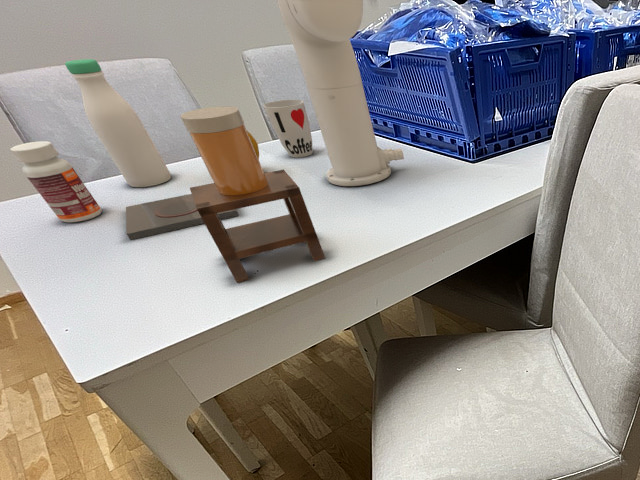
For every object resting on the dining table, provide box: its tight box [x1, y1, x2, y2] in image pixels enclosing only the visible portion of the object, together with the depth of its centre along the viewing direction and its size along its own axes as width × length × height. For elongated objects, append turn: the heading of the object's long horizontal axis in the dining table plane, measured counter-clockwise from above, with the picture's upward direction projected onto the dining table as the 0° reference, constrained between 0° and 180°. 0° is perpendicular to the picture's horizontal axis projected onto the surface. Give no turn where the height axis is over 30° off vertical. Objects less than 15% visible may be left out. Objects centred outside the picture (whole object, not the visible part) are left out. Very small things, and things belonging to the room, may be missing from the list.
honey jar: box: [180, 106, 268, 196], centre depth 56 cm, size 6×6×8 cm
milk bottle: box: [64, 58, 172, 188], centre depth 84 cm, size 8×8×20 cm
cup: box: [262, 99, 314, 158], centre depth 100 cm, size 8×8×10 cm
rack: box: [189, 168, 326, 283], centre depth 62 cm, size 12×9×10 cm
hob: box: [125, 193, 239, 241], centre depth 78 cm, size 16×14×1 cm
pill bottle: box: [10, 140, 103, 223], centre depth 75 cm, size 6×6×11 cm
